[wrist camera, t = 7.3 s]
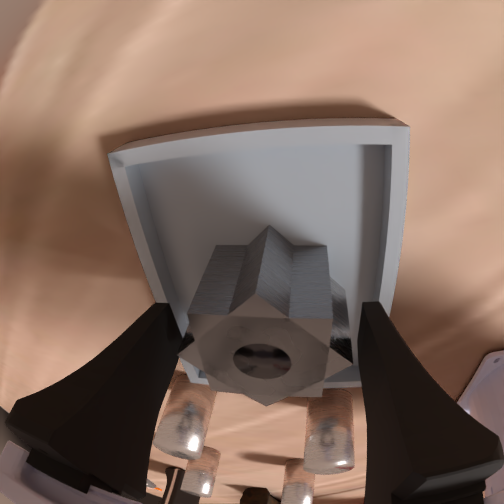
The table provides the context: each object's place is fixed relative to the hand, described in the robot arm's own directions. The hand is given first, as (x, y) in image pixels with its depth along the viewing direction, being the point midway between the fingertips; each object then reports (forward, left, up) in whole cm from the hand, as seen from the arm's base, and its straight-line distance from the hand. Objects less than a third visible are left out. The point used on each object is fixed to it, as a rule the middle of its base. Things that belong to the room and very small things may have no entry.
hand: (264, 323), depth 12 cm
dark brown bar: (+2, +45, -3) cm, 46 cm away
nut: (0, 0, -2) cm, 2 cm away
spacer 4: (-3, +10, -3) cm, 11 cm away
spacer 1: (+6, +9, -3) cm, 12 cm away
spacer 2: (+9, +22, -3) cm, 24 cm away
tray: (0, 0, -3) cm, 3 cm away
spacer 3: (-1, +24, -3) cm, 24 cm away
